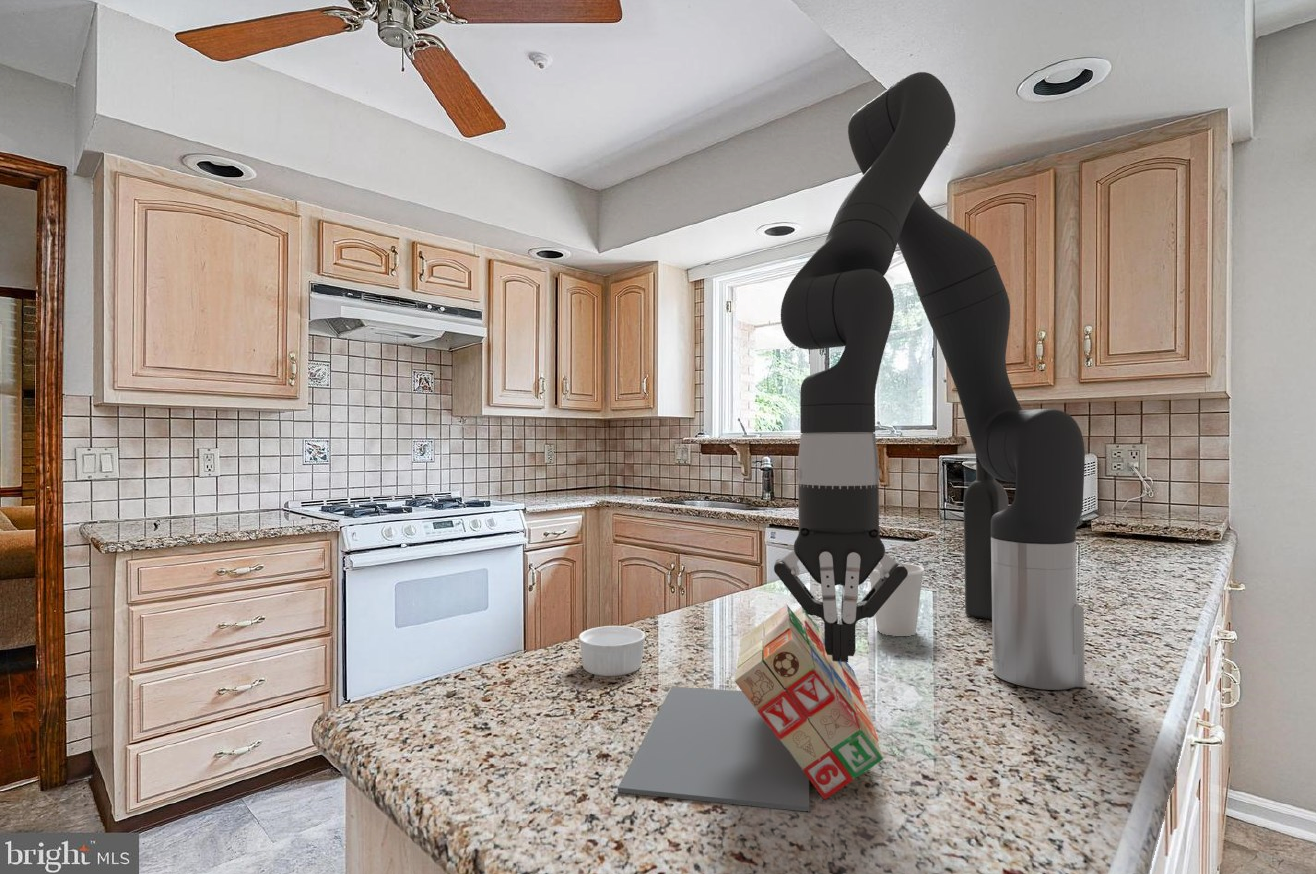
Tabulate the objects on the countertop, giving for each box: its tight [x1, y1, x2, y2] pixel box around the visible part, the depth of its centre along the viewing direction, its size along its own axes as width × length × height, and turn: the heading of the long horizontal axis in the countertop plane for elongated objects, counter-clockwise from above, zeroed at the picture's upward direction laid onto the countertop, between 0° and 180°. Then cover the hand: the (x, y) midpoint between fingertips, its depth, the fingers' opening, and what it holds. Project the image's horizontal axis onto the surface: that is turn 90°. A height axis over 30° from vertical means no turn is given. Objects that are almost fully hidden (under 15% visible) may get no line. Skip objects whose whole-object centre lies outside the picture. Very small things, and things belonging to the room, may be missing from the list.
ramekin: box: [578, 625, 646, 677], centre depth 90 cm, size 9×9×4 cm
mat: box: [617, 686, 810, 813], centre depth 67 cm, size 16×24×1 cm, turn 168°
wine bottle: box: [962, 454, 1009, 621], centre depth 112 cm, size 6×6×30 cm
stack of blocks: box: [734, 603, 884, 800], centre depth 67 cm, size 21×6×12 cm
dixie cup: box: [869, 562, 925, 637], centre depth 104 cm, size 8×8×10 cm
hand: (839, 659), depth 65 cm, fingers closed
